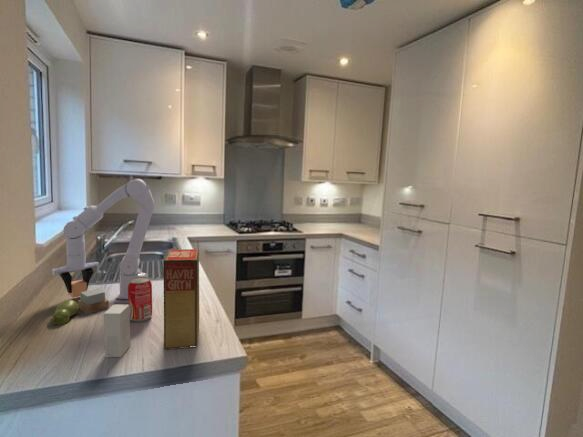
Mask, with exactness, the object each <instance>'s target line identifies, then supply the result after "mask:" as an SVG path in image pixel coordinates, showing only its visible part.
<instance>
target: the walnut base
mask: <svg viewBox="0 0 583 437" xmlns="http://www.w3.org/2000/svg"><path fill="white" fill-rule="evenodd" d="M109 303H110V302H109V300H108V299H106V298H105V301H102V302H98V303H94V304H90V305H87V304H85V303H83V302H82V301H81V299H79V300H77V304H78V310H81V311H82V312H83V313H84V314H86V315H88V314H92V313H96V312H99V311H103V310H106V309H107V310H108V309H109V308H110V306H109Z"/></svg>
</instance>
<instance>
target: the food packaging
mask: <svg viewBox="0 0 583 437" xmlns="http://www.w3.org/2000/svg"><path fill="white" fill-rule="evenodd" d="M162 263H163V349H164V348H165V349H164V350H170V349H169V348H179V349H181V348H180V347H190V346H197V347H198V344H197V343H198V341H199V334H198V333H200V250H199V249H197V248H195V249H193V248H190V249H188V248H187V249H186V248H185V249H184V248H183V249H179V248H177V249H175V248H174V249H169V250H168V251H167V253H166V256H165V257H164V259H163V261H162Z"/></svg>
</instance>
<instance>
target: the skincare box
mask: <svg viewBox="0 0 583 437" xmlns="http://www.w3.org/2000/svg"><path fill="white" fill-rule="evenodd" d="M103 321H104V322H103V326H104V328H103V329H104V352H105V353H104V355H105V356H108V357H107V358H122V357H123V356H124V354H125V353H126V351H128V349H129V348H130V347H131V327H130V326H131V324H130V322H131V320H130V317H129V305H128V304H112V306H110V307H109V308H107V310H106V311H105V312H104V313H103Z"/></svg>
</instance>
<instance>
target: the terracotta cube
mask: <svg viewBox="0 0 583 437" xmlns="http://www.w3.org/2000/svg"><path fill="white" fill-rule="evenodd" d="M71 286H72V293H68V292H67V293H68V295H69V297H71V298H77V297H80V292H84V291H88V288H87V283H86V282H85V281H83V279H77V280H75V281H74V280H73V281H71Z"/></svg>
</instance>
